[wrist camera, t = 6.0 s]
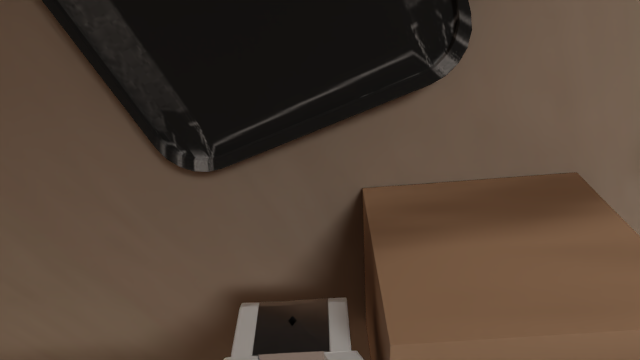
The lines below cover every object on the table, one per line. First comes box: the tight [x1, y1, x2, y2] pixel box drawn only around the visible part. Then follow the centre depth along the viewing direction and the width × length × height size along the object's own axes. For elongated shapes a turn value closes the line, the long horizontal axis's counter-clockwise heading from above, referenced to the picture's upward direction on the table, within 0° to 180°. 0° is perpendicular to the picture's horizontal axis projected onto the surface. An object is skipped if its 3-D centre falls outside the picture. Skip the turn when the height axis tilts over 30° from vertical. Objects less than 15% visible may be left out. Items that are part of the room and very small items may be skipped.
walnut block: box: [362, 172, 640, 360], centre depth 11 cm, size 6×6×5 cm
